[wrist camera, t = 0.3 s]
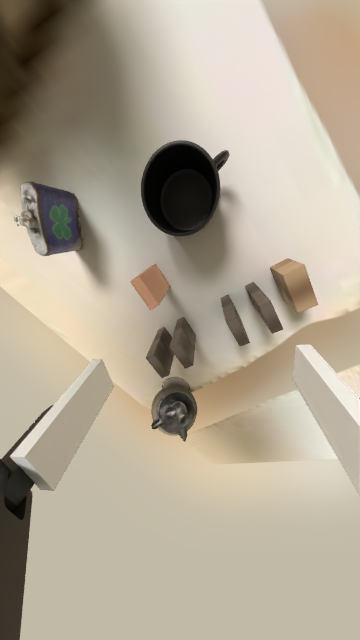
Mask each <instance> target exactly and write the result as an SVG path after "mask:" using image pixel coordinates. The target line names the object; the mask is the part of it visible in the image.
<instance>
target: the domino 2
mask: <svg viewBox="0 0 360 640" xmlns="http://www.w3.org/2000/svg"><path fill="white" fill-rule="evenodd" d="M171 341H172V337H171V336H170V334H169V333H168V331H167V330H166V328H165V327H163V328H161V329H159V330H158V332H157V334H156V337H155V339H154V341H153V343H152V345H151V348H150V350H149V352H148V354H147V357H146V359H147V360H148V361H149V363H150V364H151V365H152V366H153V368H154V369H155V370H156V371H157V373H158V374H159V375H160V376H161V378H163V377H165V376H168V375H169V373H170V369H171V365H172V361H173V356H174V352H173V351H172V350H171V348H170V344H171Z"/></svg>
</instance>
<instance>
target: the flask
mask: <svg viewBox="0 0 360 640" xmlns="http://www.w3.org/2000/svg"><path fill="white" fill-rule="evenodd" d="M21 197H22V209H23V211H22V213H21V215H22V217H21V216H19V222H20V224H21V225H23V226H26V227H27V230H28V234H29V236H30V239H31V242H32V244H33V246H34V249H35V251H36V252H37V253H38V254H40V255H42V256H49V255H52V254H58V253H63V252H69V251H77V250H80V249H81V248H82V241H83V239H81V226H80V225H81V224H80V223H79V220H78V217H80V216H79V215H78V209H79V208H78V200H77V198H76V197H75V195H74V193H73V194H72V193H70V192H68V191H64V190H60V189H56V188H52V187H48V186H45V185H41V184H37V183H34V182H26V183H23V184H22V185H21ZM17 217H18V216H17V215H14V220H15V221H16V222H18V219H17ZM17 226H19V224H17Z"/></svg>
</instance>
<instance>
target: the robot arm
mask: <svg viewBox="0 0 360 640" xmlns="http://www.w3.org/2000/svg"><path fill="white" fill-rule="evenodd" d="M293 381H294V383H295V385H296V387H297V388H298V390H299V392H300V393H301V395H302V397H303V399H304V400H305V402H306V404H307V406H308V407H309V409H310V411H311V412H312V414H313V416H314V418H315V419H316V421H317V423H318V425H319V426H320V428H321V430H322V431H323V433H324V435H325V437H326V438H327V440H328V442H329V444H330V445H331V447H332V449H333V450H334V452H335V454H336V456H337V457H338V459H339V461H340V462H341V464H342V466H343V468H344V469H345V471H346V473H347V474H348V476H349V478H350V480H351V481H352V483H353V485H354V487H355V488H356V490H357V492H358V494H359V495H360V398H358V397H357V395H356V394H355V393H354V392H353V391H352V390H351V389H350V388H349V387H348V386H347V384H346V383H345V382H344V381H343V380H342V379H341V378H340V377H339V376H338V375H337V373H336V372H335V371H334V370H333V369H332V368H331V367H330V366H329V365H328V364H327V362H326V361H325V360H324V359H323V358H322V357H321V356H320V355H319V354H318V353H317V352H316V350H315V349H314V348H313V347H312V346H311V345H310V344H307V345H296V352H295V361H294V371H293ZM113 387H114V386H113V384H112V381H111V379H110V376H109V374H108V371H107V369H106V367H105V364H104V362H103V360H102V359H93V360H92V361H91V362H90V363H89V365H88V366H87V367H86V368H85V369H84V371H83V372H82V373H81V374H80V375H79V376H78V378H77V379H76V380H75V381H74V382H73V383H72V384H71V386H70V387H69V388H68V389H67V390H66V391H65V393H64V394H63V395H62V396H61V397H60V399H59V400H58V401H57V402H56V403H55V404H54V405H52V406H50V407H49V408H48V409H47V410H45V411H44V412H43V413H42V414H41V415H40V417H38V419H37V420H36V421H35V423H33V424H32V425H31V426H30V428H29V430H27V431H26V432H25V433H24V434H23V436H22V437H21V438H20V439H19V440H18V441H17V442H16V443H15V445H14V446H13V447H12V448H11V449H10V450H9V451H8V452H7V454H6V455H5V456H4V457H3V458H2V459H0V640H19V639H20V628H21V618H22V606H23V595H24V584H25V573H26V561H27V550H28V539H29V527H30V517H31V505H32V492H31V490H30V489H31V488H32V486H33V485H34V483H35V484H36V485H37V486H38V487H39V488H40V489H41V490H52V491H54V490H55V488H56V486H57V484H58V482H59V481H60V479H61V478H62V476H63V474H64V472H65V470H66V469H67V467H68V465H69V464H70V462H71V460H72V459H73V457H74V455H75V453H76V452H77V450H78V448H79V446H80V445H81V443H82V441H83V439H84V438H85V436H86V434H87V432H88V431H89V429H90V427H91V426H92V424H93V422H94V420H95V419H96V417H97V415H98V413H99V412H100V410H101V408H102V407H103V405H104V403H105V401H106V400H107V398H108V396H109V394H110V393H111V391H112V389H113Z"/></svg>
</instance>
